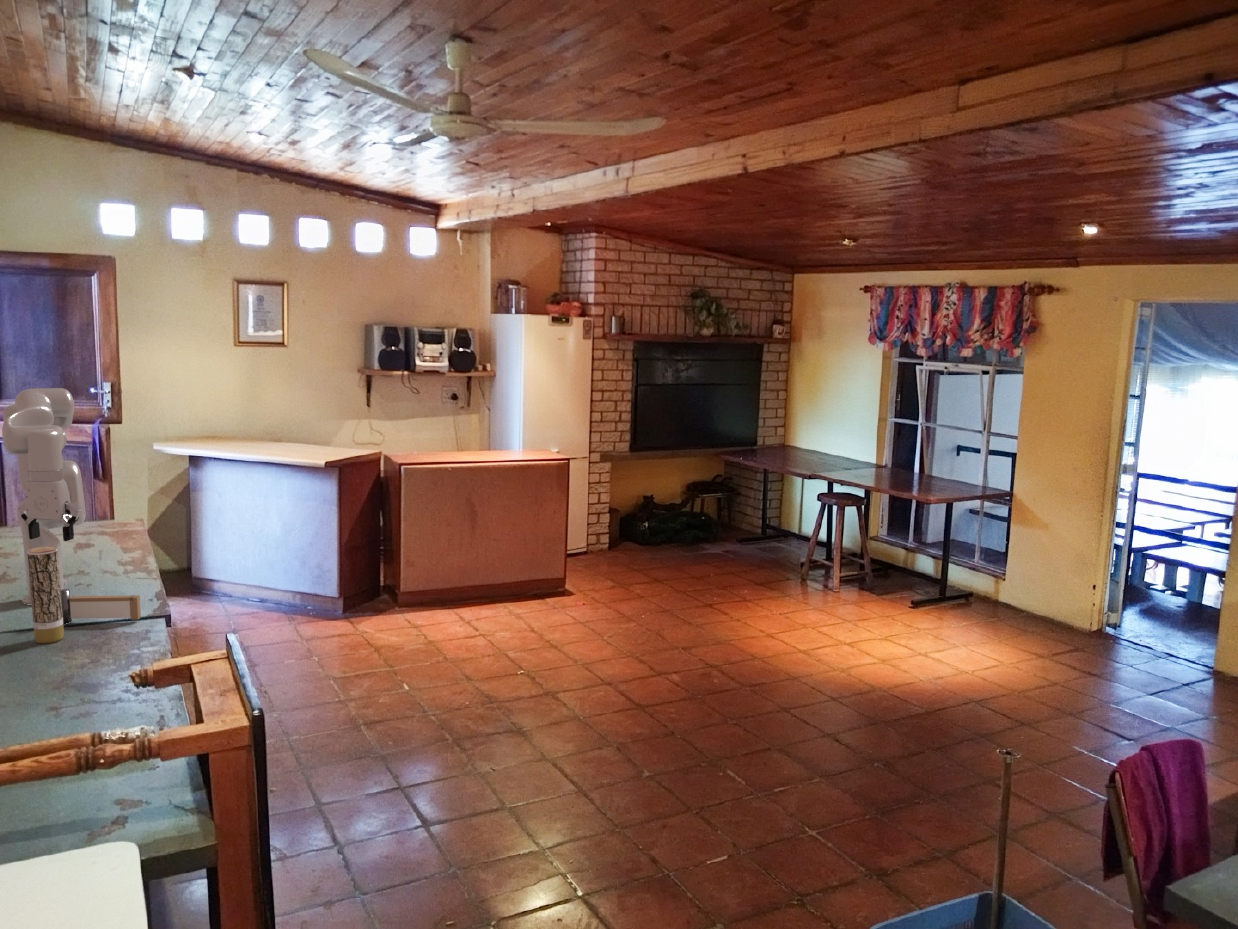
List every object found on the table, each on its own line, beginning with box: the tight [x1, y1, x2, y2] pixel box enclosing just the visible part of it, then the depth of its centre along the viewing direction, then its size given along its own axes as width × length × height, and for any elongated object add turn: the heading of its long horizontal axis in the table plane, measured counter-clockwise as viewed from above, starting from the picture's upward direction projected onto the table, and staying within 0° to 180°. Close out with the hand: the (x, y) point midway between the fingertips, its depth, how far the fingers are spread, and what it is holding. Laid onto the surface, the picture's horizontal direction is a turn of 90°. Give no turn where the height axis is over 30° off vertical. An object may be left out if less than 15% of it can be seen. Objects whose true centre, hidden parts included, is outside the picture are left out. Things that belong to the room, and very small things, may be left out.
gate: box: [69, 594, 142, 621], centre depth 263 cm, size 2×18×6 cm, turn 97°
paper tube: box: [27, 546, 65, 644], centre depth 247 cm, size 7×7×25 cm
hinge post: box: [61, 588, 73, 625], centre depth 262 cm, size 3×3×10 cm
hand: (51, 539), depth 248 cm, fingers open, 9 cm apart
